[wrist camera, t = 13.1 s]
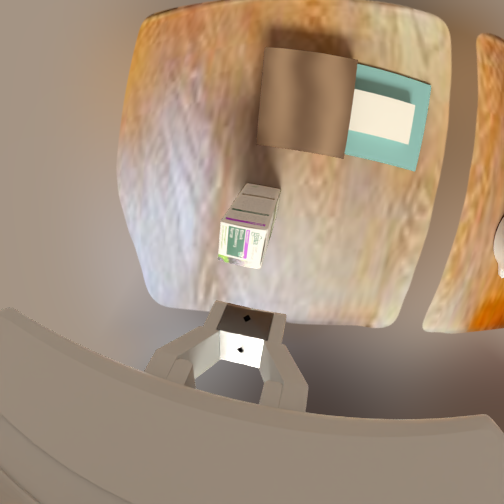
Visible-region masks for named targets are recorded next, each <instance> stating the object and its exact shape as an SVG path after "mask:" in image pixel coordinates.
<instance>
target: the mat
mask: <svg viewBox="0 0 504 504" xmlns="http://www.w3.org/2000/svg"><path fill="white" fill-rule="evenodd" d="M355 89H357V90H362V91H366V92H370V93H374V94H378V95H382V96H386V97H389V98H393V99H397V100H400V101H403V102H407V103H410V104H413V105H415V111H414V117H413V123H412V128H411V134H410V139H409V144H404V143H401V142H397V141H393V140H390V139H386V138H382V137H378V136H374V135H370V134H365V133H361V132H357V131H352V130H348V136H347V142H346V148H345V154H346V155H351V156H356V157H360V158H365V159H369V160H373V161H377V162H381V163H385V164H389V165H393V166H397V167H401V168H404V169H408V170H411V171H415V169H416V165H417V161H418V157H419V152H420V148H421V143H422V138H423V133H424V128H425V123H426V117H427V111H428V105H429V98H430V91H431V86H430V85H428V84H425V83H422V82H419V81H416V80H413V79H410V78H407V77H404V76H401V75H398V74H394V73H391V72H388V71H384V70H380V69H376V68H373V67H369V66H364V65H360V64H357V72H356V81H355Z"/></svg>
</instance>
